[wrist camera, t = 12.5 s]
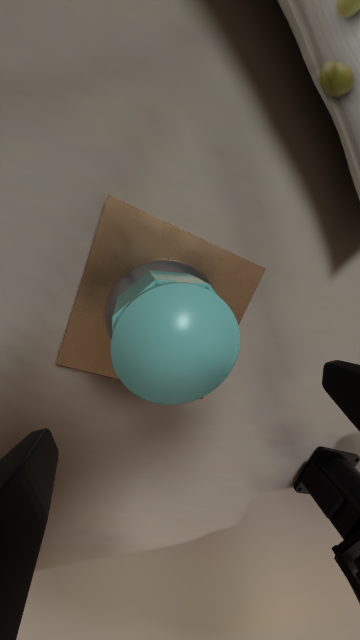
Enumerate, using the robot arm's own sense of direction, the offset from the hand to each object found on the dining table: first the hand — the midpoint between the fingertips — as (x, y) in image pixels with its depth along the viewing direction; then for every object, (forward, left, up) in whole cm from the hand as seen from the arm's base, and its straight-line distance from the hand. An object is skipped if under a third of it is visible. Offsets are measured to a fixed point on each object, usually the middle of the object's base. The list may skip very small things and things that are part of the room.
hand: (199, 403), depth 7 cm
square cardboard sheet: (0, 0, -11) cm, 11 cm away
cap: (0, 0, -9) cm, 9 cm away
